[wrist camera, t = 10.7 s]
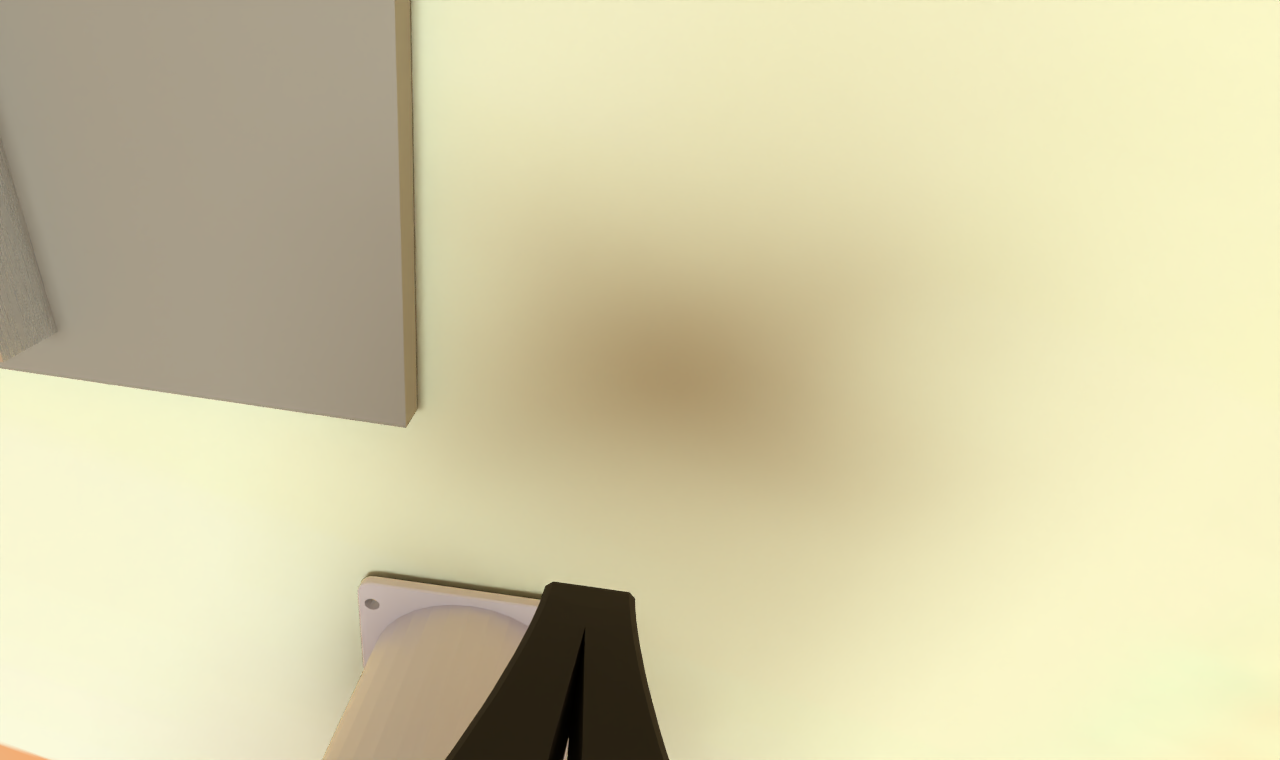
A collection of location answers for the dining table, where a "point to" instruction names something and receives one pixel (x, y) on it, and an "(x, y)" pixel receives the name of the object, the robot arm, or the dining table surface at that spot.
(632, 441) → the dining table surface
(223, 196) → the mount board
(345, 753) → the robot arm
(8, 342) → the rail
